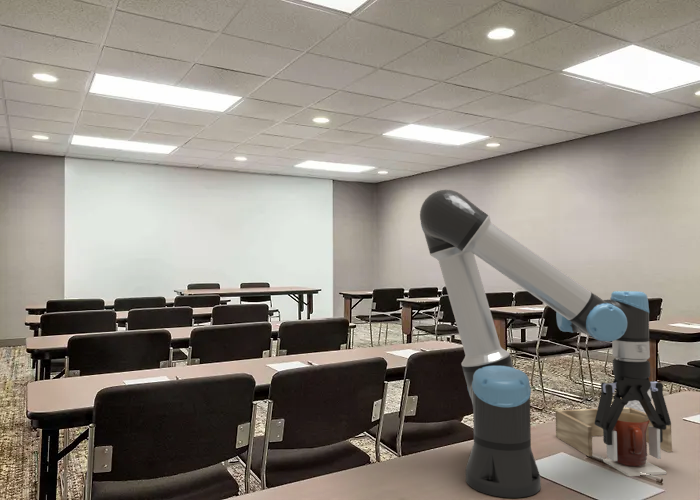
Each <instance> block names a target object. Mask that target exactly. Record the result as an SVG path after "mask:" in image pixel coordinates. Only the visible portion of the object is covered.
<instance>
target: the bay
mask: <svg viewBox="0 0 700 500" xmlns="http://www.w3.org/2000/svg"><path fill="white" fill-rule="evenodd" d="M597 410H598V408H585V409H584V408H583V409H582V408H581V409H560V410H559V409H558V410H557V409H556V410H555V437H556V438H558V439H559V440H561V441H562V442H564V443H565V444H567V445H569V446H571V448H574V449H576V451H579V452H581V453H582V454H584V455H585V456H587V457H593V437H604V436H603V429H602V428H600V427H598V426H596V425H595V418H596V414H597ZM622 412H624V413H633V414H638V415H642V416H645V417H647V418H648V416H647V415H646V413H644V412H641V411H639V410H636V409H634V408H631V407H628V408H625V407H624V408H623V410H622ZM648 419H649V418H648ZM649 426H653V425H652V424H651V422H650V420H649V424H648V427H647V431H646V442H647V443H648V444H649ZM662 431H663V441H662V442H660V450H663V451H665V452H667V453H673V443H672V441H673V440H672V424H671V425H669V426H668V425H666V429H665V430H663V429H662Z"/></svg>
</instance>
